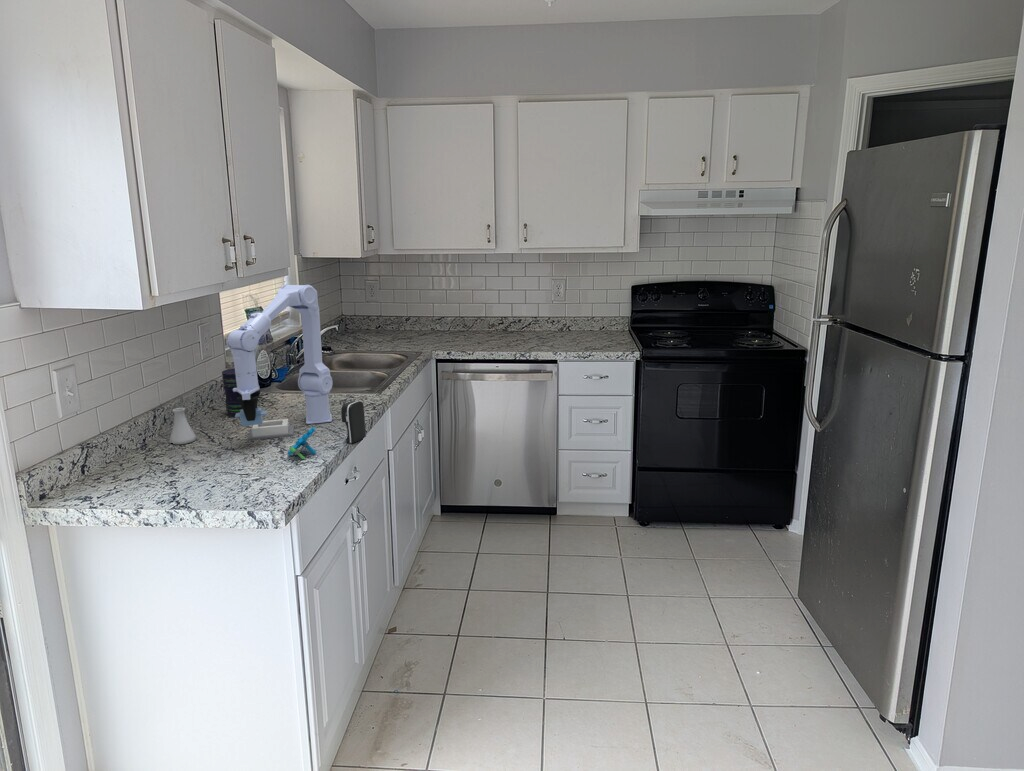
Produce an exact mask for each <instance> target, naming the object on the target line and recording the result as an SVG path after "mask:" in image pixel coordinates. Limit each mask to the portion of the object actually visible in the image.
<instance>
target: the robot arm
mask: <svg viewBox="0 0 1024 771" xmlns="http://www.w3.org/2000/svg"><path fill="white" fill-rule="evenodd" d="M318 298H319V297H318V290H316V289H315V287H313V286H312V285H311V284H305V285H304V284H283V285H282V286H281V287H280V288H279V289H277V291H276V296H274V298H273V299H272V300H271V301H270V302H269V303H268V304H267V305H266V307H264V309H263V310H262V311H261V312H255V313H251V314H250V318H248V320H246V321H245V322H244V323H243V324H241V325H240V326H239V328H238V329H235V330H232V331H231V332H230V333H229V335H227V340H225V341H226V346H227V348H229V350H230V352H231V356H232V358H233V364H234V365H233V366H234V368H235V374H236V382H237V388H233V392H236V391H237V392H238V393H240V394H239V395H240V397H238V398H237V400H238V402H239V403H240V405H241V407H242V408H243V411H244V414H245V417H246V419H247V421H254V420H255V417H256V408H258V402H259V401H258V400H259V398H260V395H261V390H260V389H261V388H260V385H259V379H258V371H257V361H256V353H255V350H256V349H257V347H258V346H259V340H260V339H261V337H262V336H263V335H264V334H265V333H266V332H267V331H268V330H269V329H270V328H271V327H272V320H274V319H275V318H276V317H277V316H279V315H280V314H281V313H282V312H283V311H284V310H285V309H286V308H288V307H289V308H291V309H294V310H295V311H297V312H298V313H299V314H300V315H301V328H302V329H301V330H302V342H303V357H304V358H303V359H304V360H303V361H304V365H302V366H301V367H300V368H299V371H298V372H299V374H298V379H297V386H298V388H299V390H301V392H302V395H304V401H305V402H304V403H305V411H306V415H305V416H306V418H305V424H306V425H309V424H310V425H312V424H321V423H331V422H332V421H333V417H332V415H333V414H332V413H331V411H330V409H331V408H330V399H329V394H330V393H331V392H330V391H331V390H332V388H333V383H334V382H333V377H332V376H331V375H332V374H331V370H330V368H329V367H328V366H326V365H325V363H324V362H323V351H322V333H321V318H320V305H319V301H318V300H319V299H318Z"/></svg>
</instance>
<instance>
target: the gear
mask: <svg viewBox="0 0 1024 771" xmlns="http://www.w3.org/2000/svg"><path fill="white" fill-rule="evenodd" d="M315 431H316V428H315V427H314V426H313V427H311V428H309V429H308V430H307V433H303V435H302V436H301V437H298V438H297V441H295V444H294V445H292V446H291V447H290V448H289V450H288V451H287V455H288V456H289V457H290V456H291V455H292V453H293V454H294V455H295V456H298V457H300V459H302V460H303V459H304V460H305V459H306V456H304V455H303V454H302V453H301V452H302V451H303V450H304V449H306V450H308V451H309V452H310V453H311V454H312V455H313V454H314V455H315V454H316V453H317V451H316V450H315V449H313V447H311V446H310V444H309V442H307V441H308V439H309V438H310V437H311V436H312V435H313V434H314V432H315Z"/></svg>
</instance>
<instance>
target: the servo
mask: <svg viewBox="0 0 1024 771" xmlns="http://www.w3.org/2000/svg"><path fill="white" fill-rule="evenodd" d="M267 413H268V410H262V407H257V408H256V417H255V420H254V421H247V419H246V417H245V414H244V411H243V409H241V411H240V413H236V415H235V418H234V419H238V418H239V417H240V418H239V419H240V425H241V427H247V426H253V425H258V424H262V423H263V421H264V418H263V416H266V415H267Z"/></svg>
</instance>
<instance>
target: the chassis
mask: <svg viewBox="0 0 1024 771" xmlns="http://www.w3.org/2000/svg"><path fill="white" fill-rule="evenodd" d="M294 432H295V424H291V425H290V423H289V418H282V419H279V418H278V419H270V420H263V423H262V424H258V425H252V428H251V429H249V432H248V435H247V438H246V441H254V440H256V441H257V440H266V439H275V438H284V437H294V434H293V433H294Z"/></svg>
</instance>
